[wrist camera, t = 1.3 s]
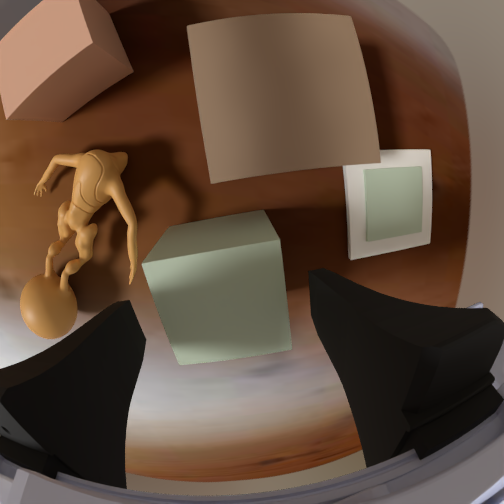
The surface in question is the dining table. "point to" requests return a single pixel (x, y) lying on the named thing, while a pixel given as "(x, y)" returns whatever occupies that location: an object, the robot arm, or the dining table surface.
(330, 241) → the dining table surface
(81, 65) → the terracotta block
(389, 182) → the swatch
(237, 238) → the sage block
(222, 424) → the dining table surface
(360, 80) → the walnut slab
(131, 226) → the figurine
